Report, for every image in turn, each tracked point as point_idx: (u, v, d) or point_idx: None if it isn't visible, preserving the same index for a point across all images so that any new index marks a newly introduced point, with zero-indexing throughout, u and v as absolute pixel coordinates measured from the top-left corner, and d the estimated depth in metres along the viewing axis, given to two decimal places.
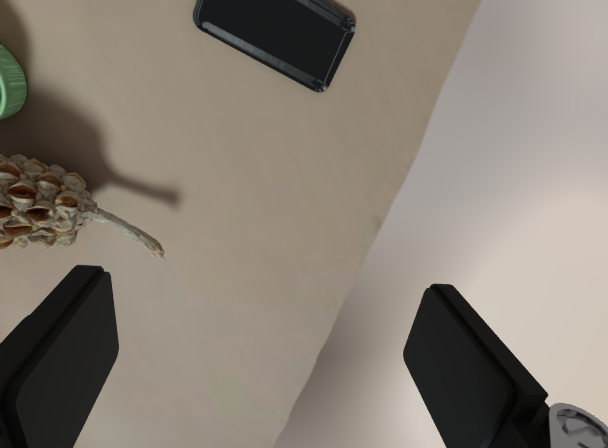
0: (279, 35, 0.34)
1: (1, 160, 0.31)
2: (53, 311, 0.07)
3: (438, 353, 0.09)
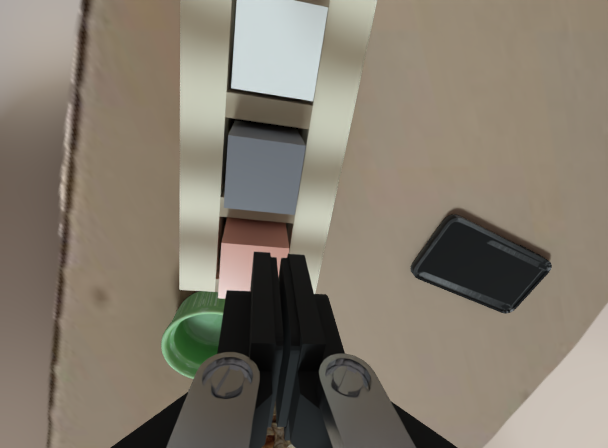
0: (483, 276, 0.37)
1: None
2: (266, 285, 0.09)
3: None
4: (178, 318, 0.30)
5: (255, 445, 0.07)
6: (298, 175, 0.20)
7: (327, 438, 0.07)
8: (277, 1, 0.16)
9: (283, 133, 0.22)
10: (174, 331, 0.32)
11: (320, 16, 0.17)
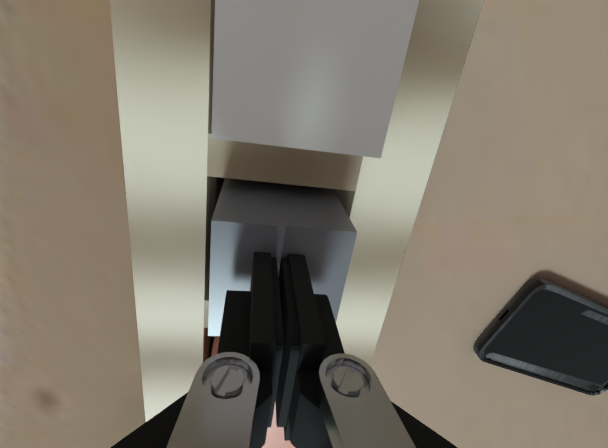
0: (570, 354, 0.27)
1: None
2: (266, 285, 0.09)
3: None
4: None
5: (255, 444, 0.07)
6: (341, 280, 0.11)
7: (327, 438, 0.07)
8: None
9: (309, 195, 0.13)
10: None
11: None
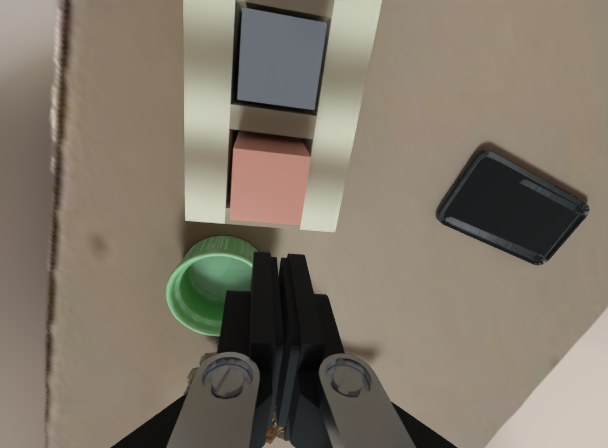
0: (515, 222, 0.34)
1: None
2: (266, 285, 0.09)
3: None
4: (185, 260, 0.27)
5: (255, 445, 0.07)
6: (318, 60, 0.19)
7: (327, 438, 0.07)
8: None
9: None
10: (180, 278, 0.29)
11: None
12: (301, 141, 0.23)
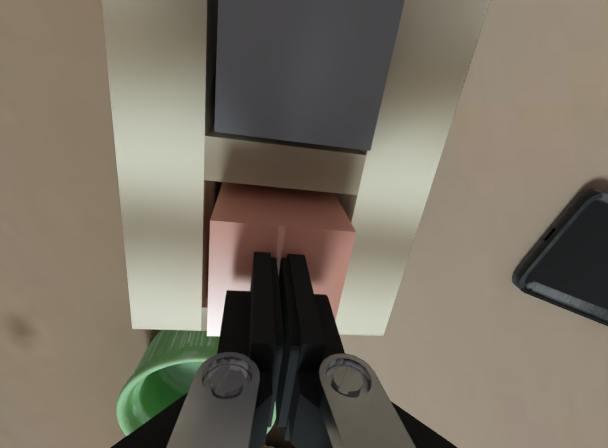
0: None
1: None
2: (266, 285, 0.09)
3: None
4: (144, 369, 0.17)
5: (255, 444, 0.07)
6: (387, 50, 0.09)
7: (327, 438, 0.07)
8: None
9: None
10: (140, 386, 0.19)
11: None
12: None
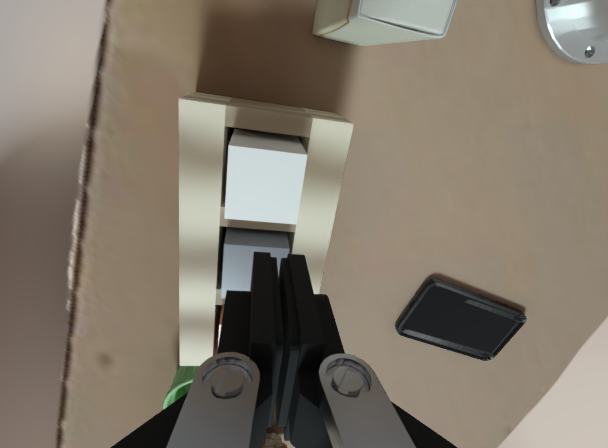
0: (463, 330, 0.39)
1: None
2: (266, 285, 0.09)
3: None
4: (180, 383, 0.32)
5: (256, 444, 0.07)
6: None
7: (327, 438, 0.07)
8: (263, 152, 0.19)
9: None
10: (175, 392, 0.34)
11: (301, 161, 0.19)
12: None
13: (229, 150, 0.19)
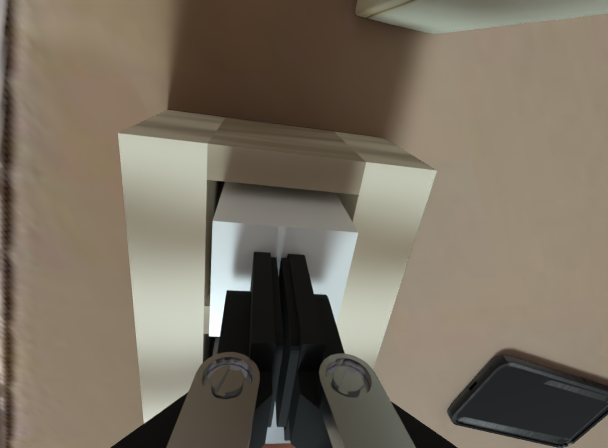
0: (537, 415, 0.30)
1: None
2: (266, 285, 0.09)
3: None
4: None
5: (255, 445, 0.07)
6: None
7: (327, 438, 0.07)
8: (277, 231, 0.10)
9: None
10: None
11: (346, 244, 0.11)
12: None
13: (214, 229, 0.10)
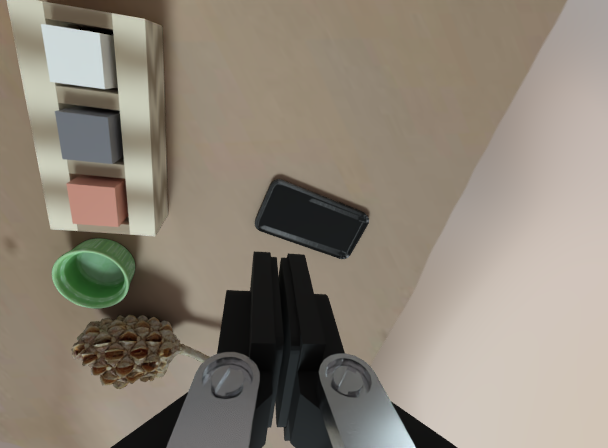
0: (315, 228, 0.47)
1: (123, 328, 0.44)
2: (266, 285, 0.09)
3: None
4: (64, 254, 0.40)
5: (256, 444, 0.07)
6: (107, 137, 0.32)
7: (327, 438, 0.07)
8: (67, 30, 0.28)
9: (107, 111, 0.34)
10: (64, 266, 0.42)
11: (96, 38, 0.29)
12: None
13: (42, 27, 0.28)
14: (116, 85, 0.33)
